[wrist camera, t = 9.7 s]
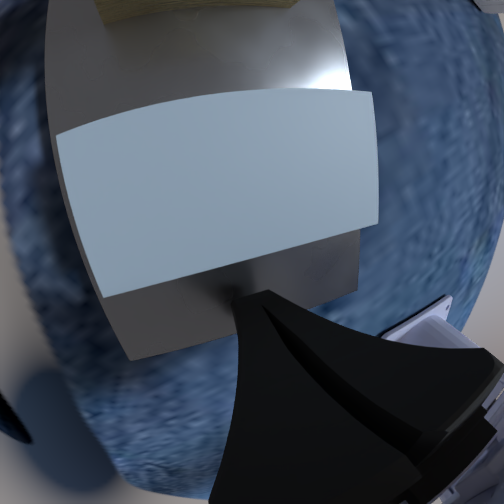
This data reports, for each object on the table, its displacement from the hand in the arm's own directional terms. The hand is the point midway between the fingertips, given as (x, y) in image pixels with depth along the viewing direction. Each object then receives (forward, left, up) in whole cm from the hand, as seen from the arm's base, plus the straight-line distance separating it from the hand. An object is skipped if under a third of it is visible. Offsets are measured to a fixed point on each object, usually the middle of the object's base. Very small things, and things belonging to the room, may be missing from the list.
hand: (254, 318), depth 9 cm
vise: (+9, 0, -2) cm, 9 cm away
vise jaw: (+5, 0, -1) cm, 5 cm away
